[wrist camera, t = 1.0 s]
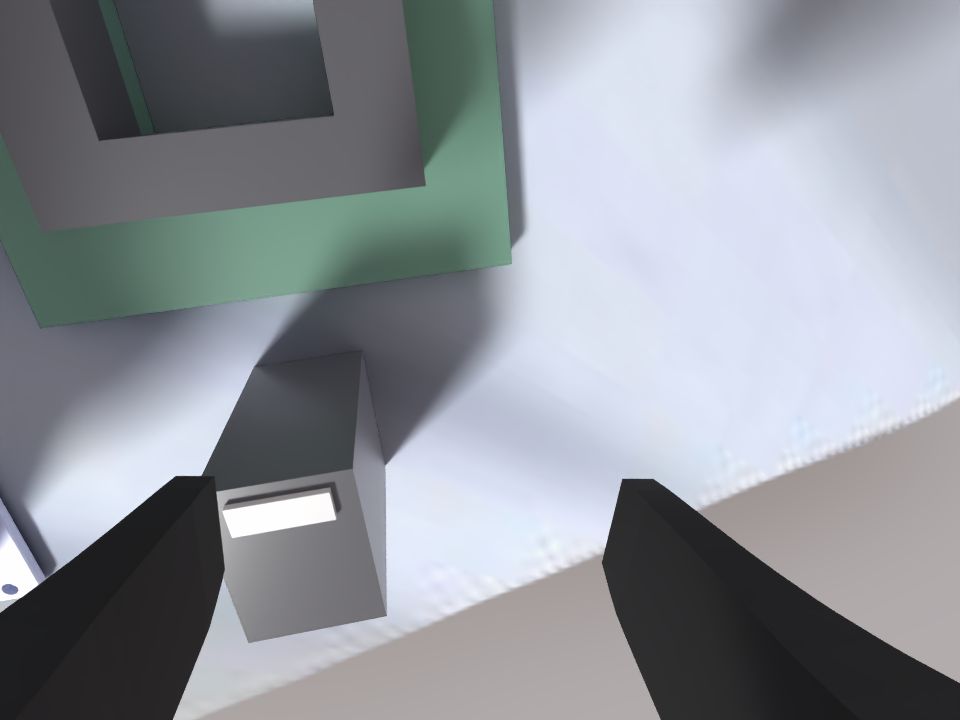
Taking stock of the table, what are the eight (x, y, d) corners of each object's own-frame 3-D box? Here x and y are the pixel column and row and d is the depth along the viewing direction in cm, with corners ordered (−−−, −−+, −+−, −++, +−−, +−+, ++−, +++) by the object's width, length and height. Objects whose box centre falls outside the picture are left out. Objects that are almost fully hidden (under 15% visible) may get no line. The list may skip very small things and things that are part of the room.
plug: (288, 481, 21) (246, 649, 15) (254, 366, 19) (189, 501, 13) (385, 465, 22) (386, 622, 15) (362, 350, 20) (352, 473, 13)
